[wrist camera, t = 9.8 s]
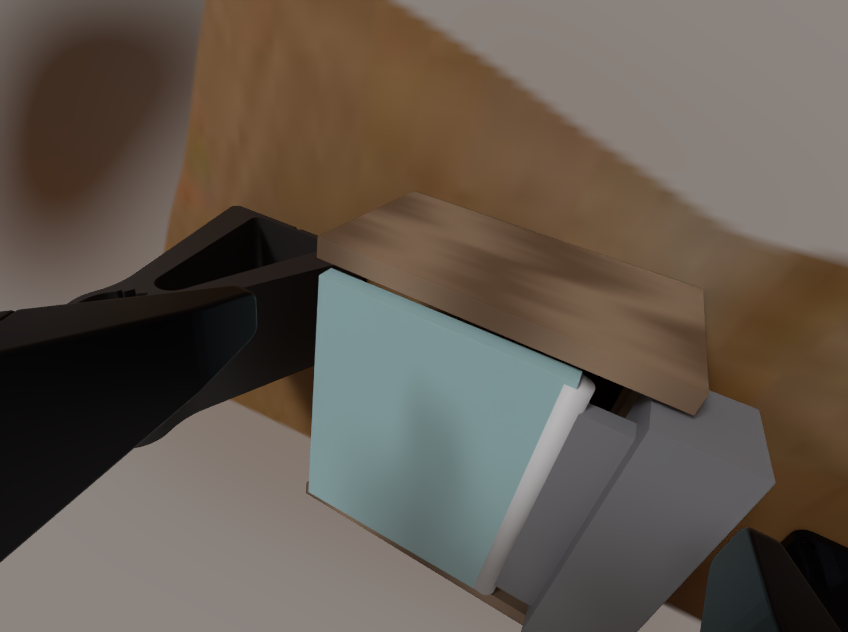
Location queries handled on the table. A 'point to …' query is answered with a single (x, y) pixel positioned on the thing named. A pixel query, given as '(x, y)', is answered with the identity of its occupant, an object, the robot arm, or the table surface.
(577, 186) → the table surface
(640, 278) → the trapdoor frame
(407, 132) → the table surface
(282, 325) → the phone stand
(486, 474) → the trapdoor
